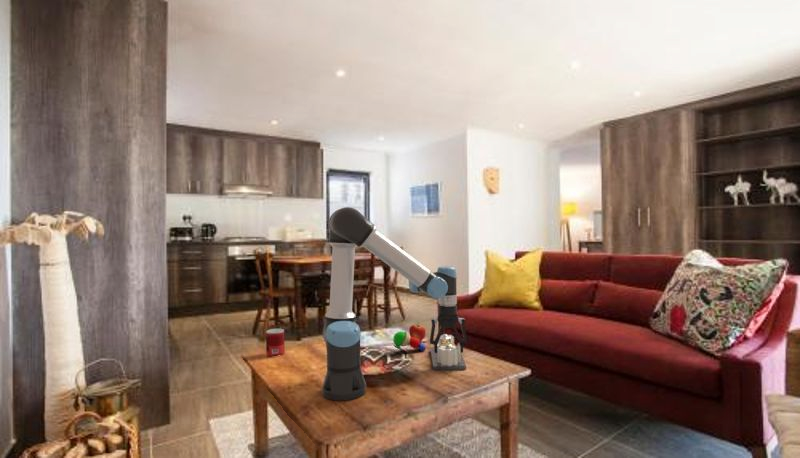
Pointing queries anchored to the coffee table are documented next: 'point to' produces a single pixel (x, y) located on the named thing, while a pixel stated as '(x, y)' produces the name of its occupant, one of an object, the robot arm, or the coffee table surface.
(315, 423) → the coffee table surface
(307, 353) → the coffee table surface
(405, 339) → the toy
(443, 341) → the carrier
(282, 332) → the canned food
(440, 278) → the robot arm
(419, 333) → the apple
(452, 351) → the planet gear
